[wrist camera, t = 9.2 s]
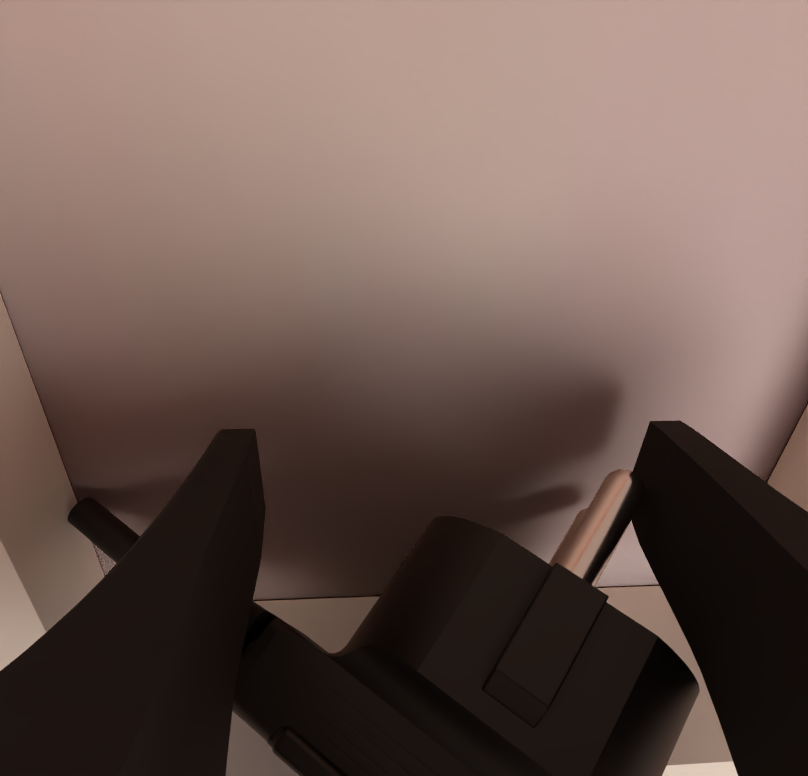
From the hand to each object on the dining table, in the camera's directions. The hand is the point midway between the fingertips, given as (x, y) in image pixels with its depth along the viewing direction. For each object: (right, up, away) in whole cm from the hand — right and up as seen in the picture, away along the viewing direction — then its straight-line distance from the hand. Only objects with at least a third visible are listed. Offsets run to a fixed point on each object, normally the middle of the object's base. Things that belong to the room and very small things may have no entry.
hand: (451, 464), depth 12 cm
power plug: (-2, -1, +1) cm, 2 cm away
